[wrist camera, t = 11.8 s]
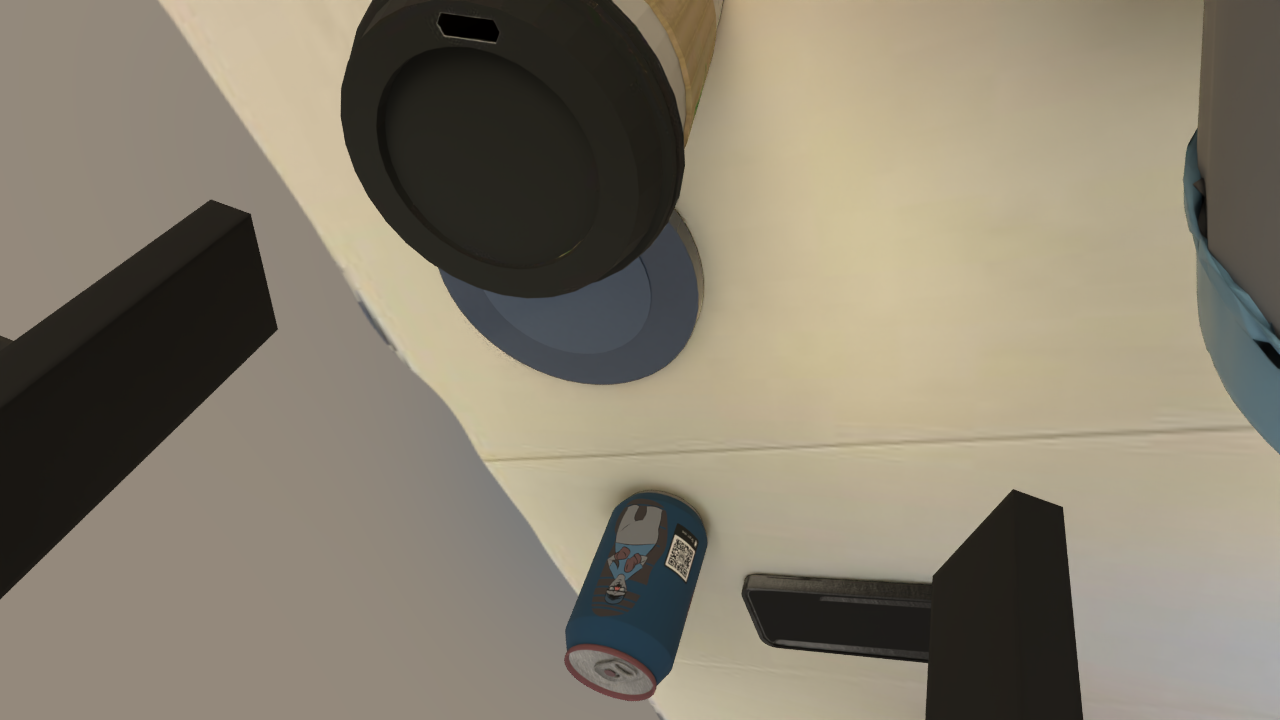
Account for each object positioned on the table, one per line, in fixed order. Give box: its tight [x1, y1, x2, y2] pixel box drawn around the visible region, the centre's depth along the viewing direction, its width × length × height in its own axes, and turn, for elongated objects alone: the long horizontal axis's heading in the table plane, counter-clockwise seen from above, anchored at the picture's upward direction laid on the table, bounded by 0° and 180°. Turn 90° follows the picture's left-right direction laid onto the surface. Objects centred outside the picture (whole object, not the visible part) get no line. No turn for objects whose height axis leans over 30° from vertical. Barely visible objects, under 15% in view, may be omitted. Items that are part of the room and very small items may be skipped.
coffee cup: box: [341, 0, 723, 298], centre depth 25 cm, size 10×10×15 cm
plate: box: [438, 209, 704, 385], centre depth 41 cm, size 15×15×1 cm
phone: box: [742, 575, 932, 663], centre depth 54 cm, size 8×1×15 cm
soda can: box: [564, 491, 707, 701], centre depth 50 cm, size 7×7×12 cm
